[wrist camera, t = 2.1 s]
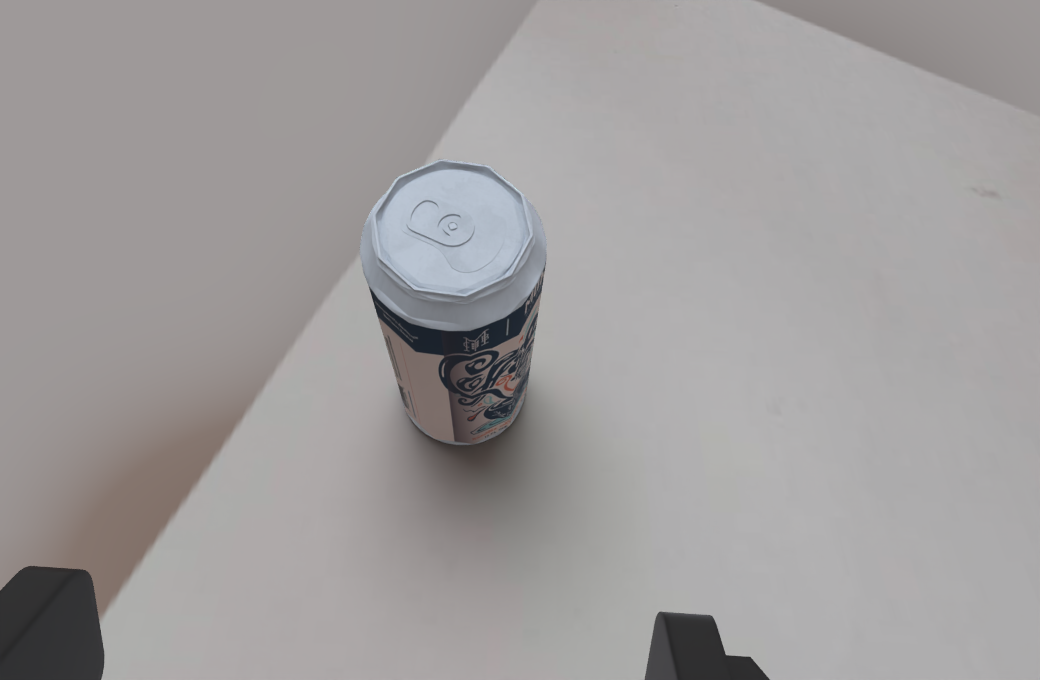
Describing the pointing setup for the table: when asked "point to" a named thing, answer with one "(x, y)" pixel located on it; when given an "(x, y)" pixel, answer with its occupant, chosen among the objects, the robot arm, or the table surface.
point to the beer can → (456, 295)
